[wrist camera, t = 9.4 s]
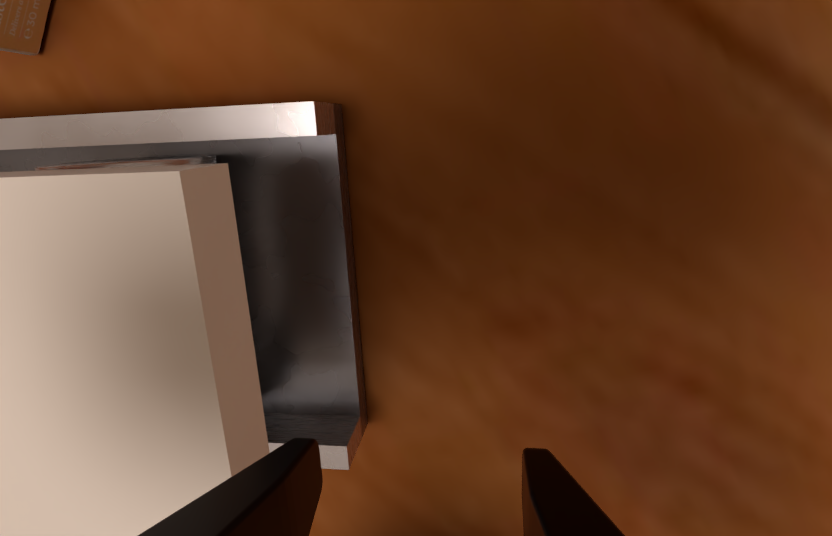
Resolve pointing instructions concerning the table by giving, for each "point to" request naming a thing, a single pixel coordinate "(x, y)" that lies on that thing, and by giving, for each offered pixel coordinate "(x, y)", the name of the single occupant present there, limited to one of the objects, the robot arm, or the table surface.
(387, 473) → the table surface
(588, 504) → the robot arm
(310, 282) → the grey rectangular tray
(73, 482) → the slab
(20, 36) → the small box
